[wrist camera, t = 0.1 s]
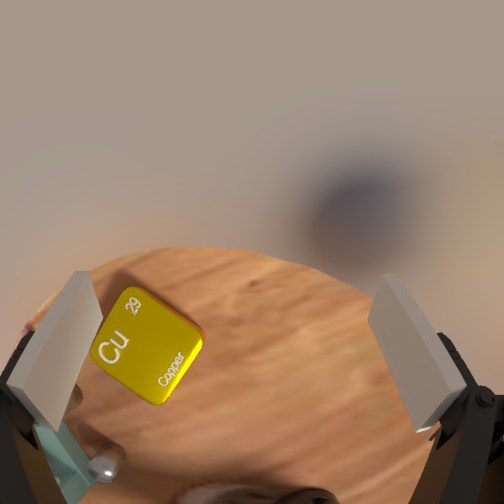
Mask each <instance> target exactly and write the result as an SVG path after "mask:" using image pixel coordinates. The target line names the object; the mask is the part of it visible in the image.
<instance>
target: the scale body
mask: <svg viewBox="0 0 504 504" xmlns="http://www.w3.org/2000/svg"><path fill="white" fill-rule="evenodd" d="M33 426H34V428H35V430H36V432H37V435H38V437H39V440H40V443H41V446H42V448H43V451H44V453H45V456H46V458H47V460H48V462H49V463H50V465H51V466H52V467H51V470H52V472H53V475H54V477H55V479H56V481H57V483H58V485H59V488H60V490H61V492H62V494H63V496H64V498H65V500H66V502H67V503H68V504H78V502H79V501H80V499H81V498H82V497H83V495H84V494H85V493H86V491H87V490H88V489H89V487H93V486H94V484H95V483H96V482H97V480H95V479H94V478H93V477H92V476H91V475H90V474H89V472H88V470H87V465H88V463H89V462H90V461H91V460H90V459H89V458H88V456H87V455H86V453H85V452H84V451H83V449H82V448H81V446H80V445H79V443H78V442H77V441H76V439H75V438H74V436H73V435H72V433H71V432H70V430H69V428H68V427H67V425H66V424H65V422H64V420H63V419H62V420H61V423H60V426H59V429H58V432H55V431H52V430H49V429H46V428H43V427H41V426H40V425H39V423H37V424H34V425H33Z"/></svg>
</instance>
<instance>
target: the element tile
mask: <svg viewBox="0 0 504 504" xmlns="http://www.w3.org/2000/svg"><path fill="white" fill-rule="evenodd" d="M204 342H205V333H204V332H203V330H202V329H201V328H200V327H199V326H197V325H196V324H194V323H193V322H191V321H190V320H189V319H187V318H186V317H184V316H183V315H181V314H180V313H178V312H177V311H175V310H174V309H173V308H171V307H170V306H168V305H167V304H165V303H164V302H163V301H161V300H160V299H158V298H157V297H156V296H154V295H153V294H151V293H150V292H149V291H147V290H146V289H144V288H141V287H128V288H126V289H125V290H124V291H123V292H122V293H121V295H120V296H119V298H118V300H117V301H116V303H115V305H114V307H113V308H112V310H111V312H110V313H109V315H108V317H107V319H106V320H105V322H104V324H103V326H102V328H101V329H100V331H99V333H98V335H97V337H96V338H95V340H94V342H93V344H92V346H91V349H90V355H91V358H92V360H93V361H94V362H95V363H96V364H97V365H98V366H99V367H101V368H102V369H103V370H104V371H106V372H107V373H108V374H110V375H111V376H112V377H113V378H115V379H116V380H117V381H119V382H120V383H121V384H123V385H124V386H125V387H127V388H128V389H130V390H131V391H132V392H134V393H135V394H137V395H138V396H139V397H141V398H142V399H144V400H145V401H147V402H148V403H150V404H152V405H156V406H157V405H161V404H163V403H165V402H166V401H167V399H168V398H169V396H170V395H171V393H172V392H173V390H174V389H175V387H176V386H177V384H178V383H179V381H180V380H181V378H182V377H183V375H184V374H185V372H186V371H187V369H188V368H189V366H190V365H191V363H192V362H193V360H194V359H195V357H196V356H197V354H198V353H199V351H200V350H201V348H202V346H203V344H204Z"/></svg>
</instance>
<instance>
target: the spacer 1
mask: <svg viewBox="0 0 504 504" xmlns="http://www.w3.org/2000/svg"><path fill="white" fill-rule="evenodd" d="M82 399H83V396H82V392H81V390H80V388H79V387H78V386H77V385H76V384H75V385H74V388H73V390H72V393H71V396H70V398H69V401H68V404H67V406H66V409H65V412H64V415H65V414H67V413H68V412H69V411H71V410H72V409H74V408H75V407H76V406H78V405H79V404H80V403H81V402H82ZM64 415H63V416H64Z"/></svg>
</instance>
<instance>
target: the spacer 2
mask: <svg viewBox="0 0 504 504" xmlns="http://www.w3.org/2000/svg"><path fill="white" fill-rule="evenodd" d="M126 458H127V456H126V452H125V451H124V449H123V448H122V447H121V446H119V445H118V444H116V443H112V442H108V443H106V444H104V446H103V447H102V448H101V449H100V450H99V452H98V453H97V454H96V455H95V456H94V457H93V459H92V460H91V461H90V462H89V463H88V465H87V470H88V472H89V474H90V475H91V476H92V477H93V478H94V479H95V480H97V481H98V482H101V483H105V484H108V483H111V482H112V481H113V479H114V477H115V476H116V474H117V473H118V471H119V470H120V468H121V467H122V465H123V463H124V462H125V460H126Z"/></svg>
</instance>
